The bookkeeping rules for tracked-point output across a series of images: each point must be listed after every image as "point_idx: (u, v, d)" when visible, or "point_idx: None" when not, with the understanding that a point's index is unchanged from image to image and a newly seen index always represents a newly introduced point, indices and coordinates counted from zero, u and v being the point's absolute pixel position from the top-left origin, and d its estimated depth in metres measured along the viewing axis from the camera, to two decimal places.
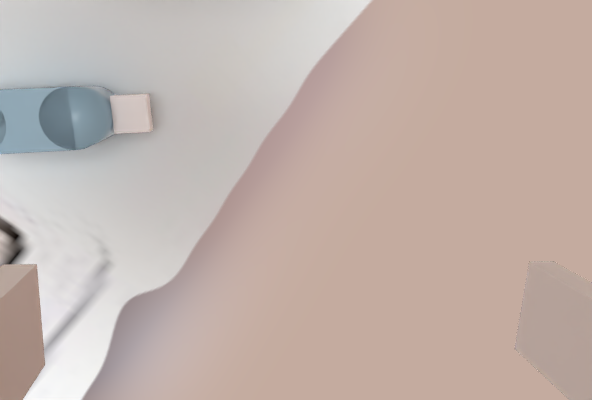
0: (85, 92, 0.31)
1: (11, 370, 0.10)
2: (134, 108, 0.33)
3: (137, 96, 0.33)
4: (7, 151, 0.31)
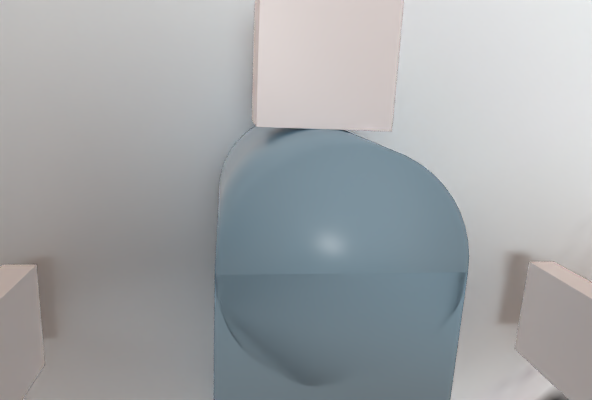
0: (242, 205, 0.07)
1: (11, 370, 0.10)
2: (310, 41, 0.09)
3: (265, 21, 0.08)
4: None
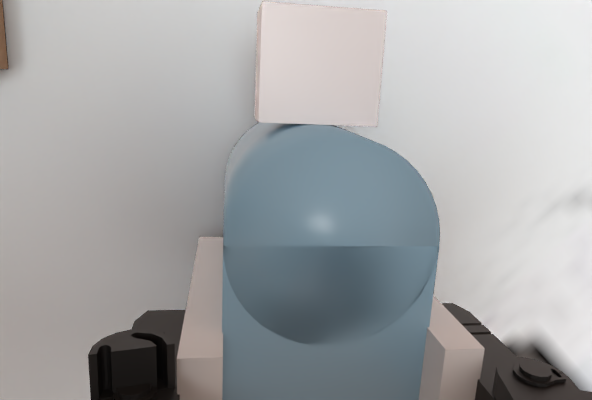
0: (246, 187, 0.08)
1: None
2: (305, 48, 0.10)
3: (266, 31, 0.10)
4: None
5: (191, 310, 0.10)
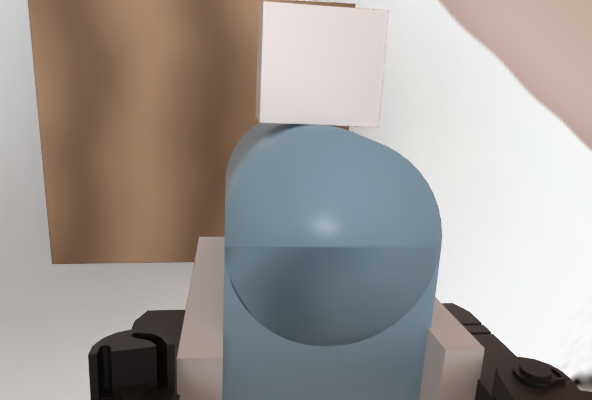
0: (247, 188, 0.08)
1: None
2: (306, 48, 0.10)
3: (268, 31, 0.10)
4: None
5: (191, 310, 0.10)
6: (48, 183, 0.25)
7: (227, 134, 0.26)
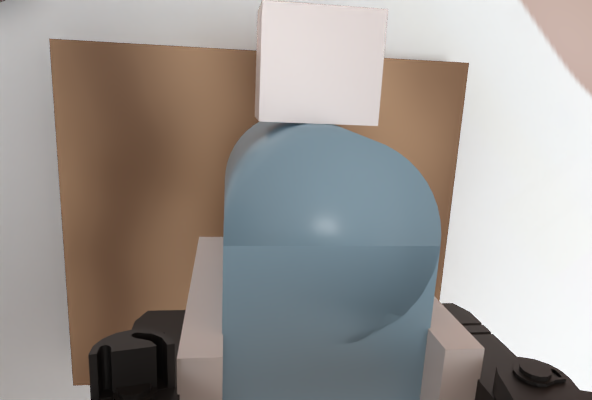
0: (246, 186, 0.08)
1: None
2: (305, 47, 0.10)
3: (267, 30, 0.10)
4: None
5: (191, 310, 0.10)
6: (71, 287, 0.19)
7: None
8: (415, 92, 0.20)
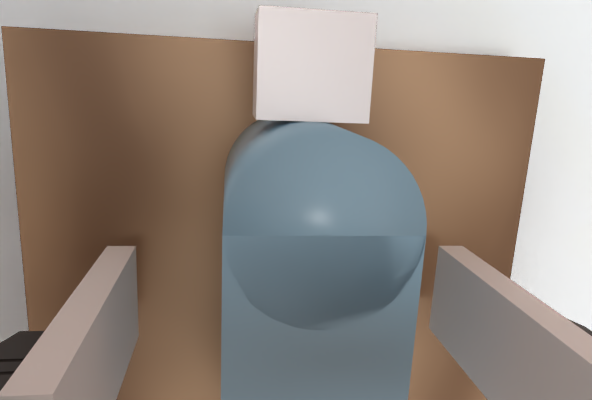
0: (243, 180, 0.09)
1: (124, 335, 0.12)
2: (299, 49, 0.11)
3: (263, 33, 0.10)
4: None
5: (48, 334, 0.09)
6: None
7: None
8: (476, 97, 0.15)
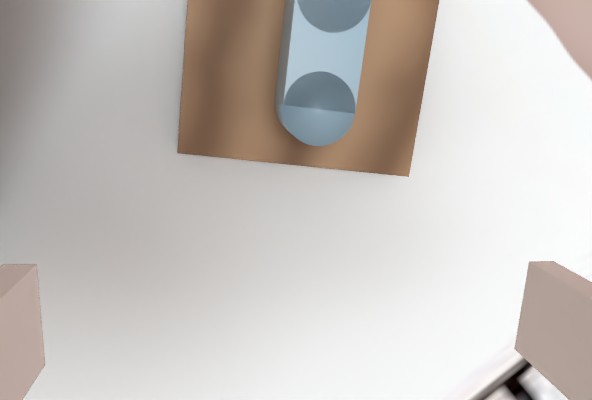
0: None
1: (11, 370, 0.10)
2: None
3: None
4: (357, 79, 0.26)
5: None
6: (185, 84, 0.31)
7: None
8: None
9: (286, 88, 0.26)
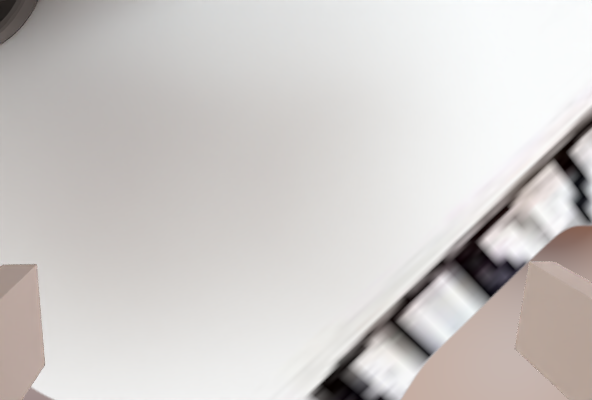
0: None
1: (11, 370, 0.10)
2: None
3: None
4: None
5: None
6: None
7: None
8: None
9: None
